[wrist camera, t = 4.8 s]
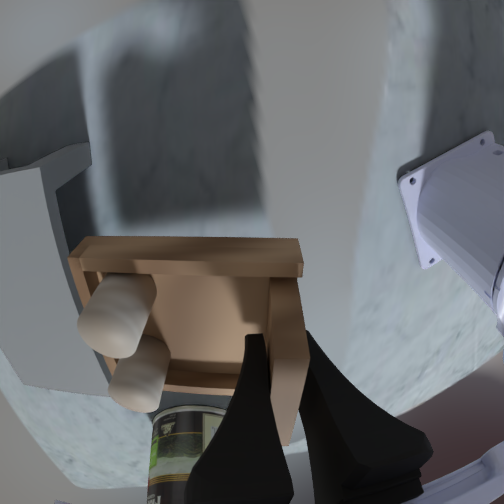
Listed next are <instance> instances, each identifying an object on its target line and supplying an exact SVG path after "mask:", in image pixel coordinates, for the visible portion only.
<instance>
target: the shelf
mask: <svg viewBox="0 0 504 504" xmlns="http://www.w3.org/2000/svg"><path fill="white" fill-rule="evenodd" d="M91 165H92V161H91V153H90V143H89V142H85V143H78V144H72V145H68V146H66V147H64V148H62V149H60V150H57V151H55V152H53V153H51V154H49V155H47V156H45V157H43V158H41V159H39V160H37V161H35V162H33V163H31V164H30V165H28V166H23V167H18V168H14V169H9V167H8V161H7V158H5V159H1V160H0V348H1V350H2V351H3V353H4V355H5V356H6V358H7V360H8V361H9V363H10V364H11V366H12V368H13V369H14V371H15V372H16V374H17V375H18V377H19V378H20V380H21V381H22V383H23V384H24V385H29V386H34V387H39V388H45V389H51V390H57V391H63V392H70V393H78V394H86V395H95V396H104V397H110V395H109V393H108V387H109V384H110V381H111V379H112V375H111V372H110V370H109V368H108V366H107V364H106V362H105V359H104V357H103V355H102V354H100V353H98V352H97V351H95V350H93V349H92V348H91V347H90V346H89V345H87V344H86V343H85V341H84V340H83V339H82V337H81V336H80V334H79V332H78V329H77V320H78V318H79V316H80V314H81V313H82V311H83V309H84V308H83V305H82V302H81V299H80V296H79V293H78V291H77V288H76V285H75V282H74V278H73V275H72V272H71V269H70V266H69V262H68V259H67V257H68V256H69V255H70V253H69V250H68V246H67V242H66V238H65V234H64V230H63V226H62V221H61V217H60V212H59V207H58V202H57V197H56V192H55V191H56V190H57V189H58V188H60V187H61V186H62V185H64V184H65V183H66V182H68V181H69V180H71V179H72V178H73V177H75V176H76V175H78V174H79V173H80V172H82V171H83V170H85V169H86V168H88V167H89V166H91Z"/></svg>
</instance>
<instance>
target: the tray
mask: <svg viewBox="0 0 504 504" xmlns="http://www.w3.org/2000/svg"><path fill="white" fill-rule="evenodd" d="M67 259H68V262H69V266H70V269H71V272H72V275H73V278H74V282H75V285H76V288H77V291H78V293H79V296H80V299H81V302H82V305H83V308H84V309H83V311H82V313H81V314H80V316H79V318H78V320H77V329H78V332H79V334H80V336H81V337H82V339H83V340H84V341H85V343H86V344H87V345H89V346H90V347H91V348H92V349H93V350H95V351H97V352H98V353H100V354H102V355H103V357H104V359H105V362H106V364H107V366H108V368H109V370H110V372H111V375H112V379H111V381H110V384H109V387H108V393H109V395H110V397H111V398H112V399H113V400H114V401H115V402H116V403H118V404H119V405H121V406H123V407H125V408H127V409H129V410H132V411H136V412H142V413H149V412H153V411H155V410H157V409H158V407H159V403H160V399H161V395H162V391H172V392H183V393H195V394H210V395H230V396H233V394H234V391H235V388H236V385H237V381H238V378H239V375H240V371H241V367H242V362H243V357H244V351H245V336H246V335H247V334H258V333H263V337H264V340H265V345H266V354H267V369H268V384H269V393H270V398H271V403H272V408H273V412H274V417H275V421H276V425H277V430H278V434H279V438H280V441H281V445H282V446H289V443H290V439H291V435H292V432H293V428H294V424H295V420H296V416H297V412H298V409H299V405H300V400H301V396H302V392H303V388H304V384H305V380H306V375H307V371H308V366H309V362H310V353H309V347H308V341H307V335H306V329H305V323H304V317H303V311H302V306H301V300H300V294H299V288H298V283H297V277H302V273H303V266H304V262H303V258H302V253H301V249H300V245H299V241H298V239H296V238H295V239H294V238H246V237H170V236H86V237H85V238H84V239H83V240H82V241H81V242H80V243H79V244H78V246H77V247H76V248H75V249H74V250H73V251H72V252H71V254H70V255H69V256H68V257H67Z"/></svg>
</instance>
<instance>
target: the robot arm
mask: <svg viewBox="0 0 504 504" xmlns="http://www.w3.org/2000/svg"><path fill="white" fill-rule="evenodd" d="M480 141H481V144H480ZM412 177H413V181H412V182H411V183H410V179H411V178H412ZM398 187H399V190H400V193H401V197H402V200H403V203H404V206H405V210H406V213H407V217H408V220H409V224H410V228H411V231H412V235H413V239H414V243H415V247H416V251H417V255H418V259H419V264H420V266H421V267H422V268H423V269H427V268H429V267H431V266H432V265H434V264H436V263H437V262H439V261H440V260H442V259H443V260H444V261H445V262H446V263H447V264H448V265H449V266H450V267H451V268H452V269H453V270H454V271H455V272H456V273H457V274H458V275H459V276H460V277H461V278H462V279H463V280H464V281H465V282H466V283H467V284H468V285H469V286H470V287H471V288H472V289H473V290H474V291H475V292H476V293H477V294H478V295H479V297H480V298H481V299H482V300H483V301H484V302H485V303H486V304H487V305H488V306H489V307H490V309H491V310H492V311H493V312H494V313H495V314H496V316H497V318H498V322H497V326H496V328H497V329H498V331H499V332H500V333H501V334H502V335H503V337H504V146H502V145H499V144H497V143H495V139H494V135H493V133H492V132H491V131H488V130H487V131H485V132H483V133H481V134H479V135H477V136H475V137H474V138H472V139H470V140H468V141H466V142H464V143H463V144H461V145H459V146H457V147H455V148H453V149H451V150H450V151H448V152H446V153H444V154H442V155H440V156H439V157H437V158H435V159H433V160H431V161H429V162H427V163H426V164H424V165H422V166H420V167H418V168H416V169H415V170H413V171H411V172H409V173H407V174H405V175H403V176H402V177H401V178H400V179H399V180H398ZM431 258H432V259H431ZM430 259H431V260H430ZM306 335H307V341H308V347H309V353H310V362H309V366H308V371H307V375H306V380H305V384H304V388H303V392H302V396H301V400H300V405H299V409H298V410H299V413H300V416H301V420H302V423H303V427H304V431H305V435H306V440H307V446H308V452H309V459H310V465H311V472H312V480H313V488H314V497H315V504H489V503H491V502H492V501H494V500H495V499H497V498H498V497H500V496H501V495H502V494H504V441H503V442H501V443H499V444H498V445H496V446H495V447H493V448H491V449H490V450H489V451H487V452H486V453H485V454H484V455H483V456H482V457H481V458H480V459H478V460H476V461H474V462H472V463H470V464H468V465H466V466H464V467H463V468H460V469H458V470H456V471H454V472H452V473H450V474H448V475H446V476H444V477H442V478H439V479H437V480H435V481H432V482H430V483H428V484H425V485H423V486H422V485H421V482H420V480H419V478H420V477H421V472H420V469H419V468H420V467H422V466H423V465H424V464H425V463H426V462H427V461H428V460H429V459H430V458H431V457H432V454H433V449H432V447H431V444H430V442H429V440H428V438H427V437H426V435H425V433H424V432H422V431H420V430H418V429H416V428H414V427H411V426H409V425H407V424H405V423H404V422H402V421H400V420H398V419H397V418H395V417H393V416H392V415H390V414H389V413H387V412H386V411H385V410H383V409H382V408H380V407H379V406H377V405H376V404H375V403H373V402H372V401H371V400H370V399H368V398H367V397H366V396H365V395H364V394H362V393H361V392H360V391H359V390H358V389H357V388H356V387H355V386H354V385H353V384H352V383H351V382H350V381H349V380H348V379H347V378H346V377H345V376H344V375H343V374H342V373H341V372H340V371H339V370H338V369H337V367H336V366H335V365H334V364H333V363H332V362H331V361H330V360H329V358H328V357H327V356H326V354H325V353H324V352H323V350H322V349H321V348H320V346H319V345H318V344H317V343H316V341H315V340H314V338H313V337H312V335H311V334H310V333H309V331H307V330H306ZM503 362H504V349H503ZM293 495H294V491H293V485H292V479H291V476H290V473H289V470H288V467H287V463H286V460H285V456H284V453H283V449H282V445H281V441H280V438H279V434H278V430H277V425H276V421H275V417H274V412H273V408H272V403H271V398H270V393H269V384H268V369H267V354H266V345H265V340H264V337H263V333H258V334H247V335H246V336H245V351H244V357H243V362H242V367H241V371H240V375H239V378H238V381H237V385H236V388H235V391H234V394H233V396H232V399H231V401H230V404H229V406H228V408H227V411H226V413H225V415H224V417H223V419H222V421H221V423H220V425H219V427H218V429H217V431H216V433H215V434H214V436H213V438H212V439H211V441H210V443H209V444H208V446H207V448H206V449H205V451H204V452H203V454H202V455H201V456H200V458H199V459H198V461H197V462H196V463H195V465H194V466H193V467H192V470H191V473H190V475H189V477H188V480H187V483H186V486H185V490H184V504H289V503H290V501H291V499H292V498H293ZM54 504H70V503H66V502H62V501H59V500H55V503H54Z"/></svg>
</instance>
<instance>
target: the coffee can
mask: <svg viewBox="0 0 504 504" xmlns="http://www.w3.org/2000/svg"><path fill="white" fill-rule="evenodd" d="M225 413H226V410H223V409H220V408H215V407H209V406H197V405H188V406H178V407H173V408H169V409H166V410H164V411H162V412H160V413H159V414H158V415H156V417H155V418H154V420H153V433H152V443H151V454H150V466H149V479H148V492H147V493H148V494H147V504H184V490H185V486H186V483H187V480H188V477H189V475H190V473H191V470H192V467H193V466H194V465H195V463H196V462H197V461H198V459H199V458H200V456H201V455H202V454H203V452H204V451H205V449H206V448H207V446H208V444H209V443H210V441H211V439H212V438H213V436H214V434H215V433H216V431H217V429H218V427H219V425H220V423H221V421H222V419H223V417H224V415H225Z"/></svg>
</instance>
